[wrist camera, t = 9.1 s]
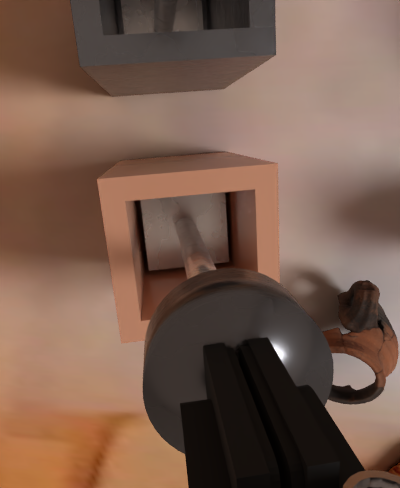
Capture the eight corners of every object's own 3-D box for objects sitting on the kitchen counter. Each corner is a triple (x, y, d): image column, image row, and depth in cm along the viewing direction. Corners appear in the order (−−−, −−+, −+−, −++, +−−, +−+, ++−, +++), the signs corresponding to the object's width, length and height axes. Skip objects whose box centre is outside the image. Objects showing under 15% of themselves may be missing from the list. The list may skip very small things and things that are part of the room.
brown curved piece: (385, 354, 41) (390, 422, 35) (295, 337, 44) (284, 397, 38) (409, 262, 35) (421, 323, 28) (303, 249, 38) (291, 302, 31)
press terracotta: (120, 160, 32) (96, 179, 18) (227, 151, 33) (277, 163, 19) (137, 285, 35) (126, 378, 22) (233, 274, 36) (280, 358, 22)
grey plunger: (139, 188, 26) (111, 294, 9) (222, 180, 27) (351, 267, 9) (148, 267, 28) (141, 490, 10) (227, 259, 28) (344, 457, 11)
